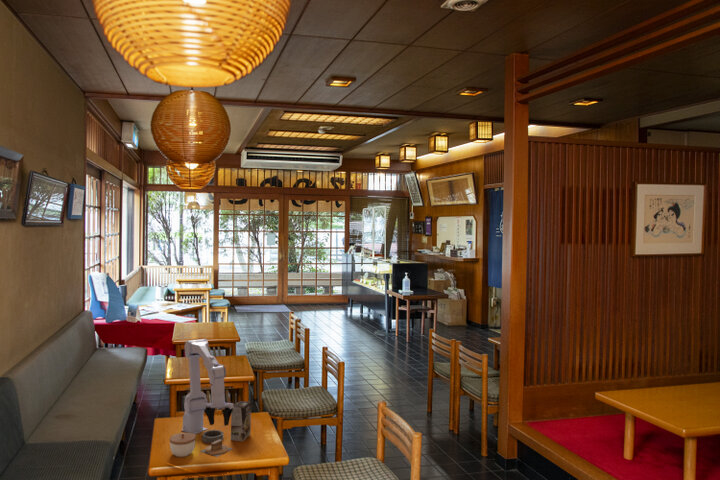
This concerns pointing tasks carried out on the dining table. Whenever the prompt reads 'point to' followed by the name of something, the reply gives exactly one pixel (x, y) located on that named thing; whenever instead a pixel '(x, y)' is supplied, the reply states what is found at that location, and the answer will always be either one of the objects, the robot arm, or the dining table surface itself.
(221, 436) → the bowl
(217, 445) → the lid
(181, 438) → the lidded jar
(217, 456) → the mat
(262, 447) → the dining table surface
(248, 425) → the coffee box
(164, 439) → the dining table surface
